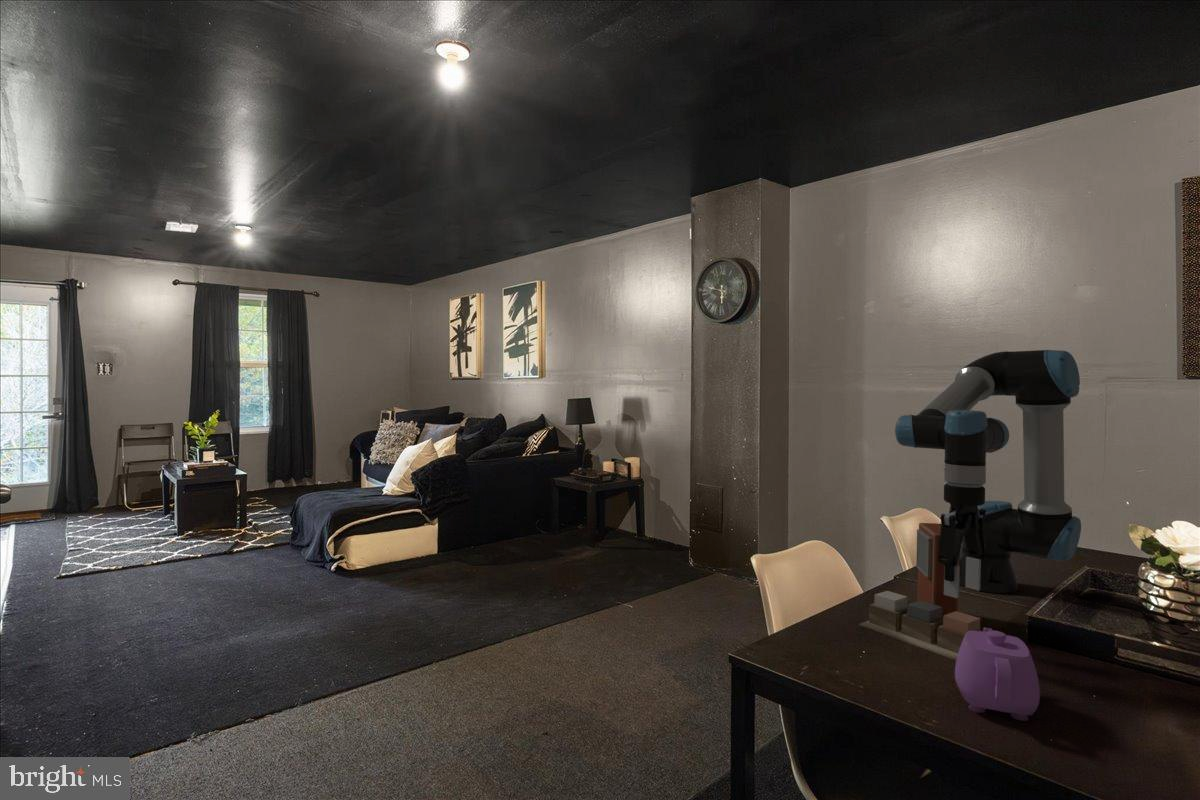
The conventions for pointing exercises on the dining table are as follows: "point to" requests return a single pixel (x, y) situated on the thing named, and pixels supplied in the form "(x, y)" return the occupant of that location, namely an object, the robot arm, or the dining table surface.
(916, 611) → the graphite key
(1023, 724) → the dining table surface
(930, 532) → the terracotta and grey box
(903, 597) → the ivory key
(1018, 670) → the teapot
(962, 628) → the terracotta key
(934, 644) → the keypad board
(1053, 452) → the robot arm
